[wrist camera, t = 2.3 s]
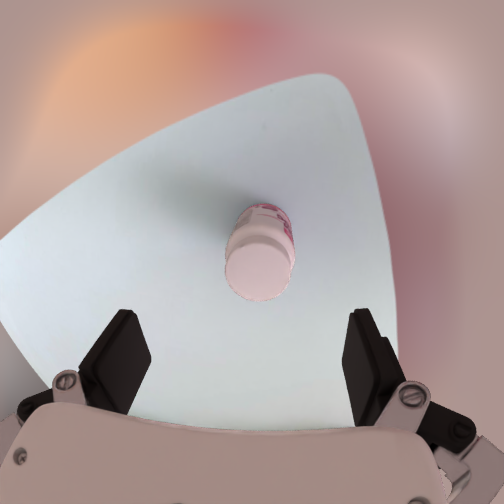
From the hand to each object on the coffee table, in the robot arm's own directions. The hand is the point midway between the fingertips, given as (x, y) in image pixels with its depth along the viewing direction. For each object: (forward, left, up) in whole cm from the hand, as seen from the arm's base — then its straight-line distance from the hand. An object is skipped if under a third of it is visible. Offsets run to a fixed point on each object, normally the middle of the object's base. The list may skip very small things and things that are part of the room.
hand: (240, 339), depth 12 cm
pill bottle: (0, 0, -15) cm, 15 cm away
